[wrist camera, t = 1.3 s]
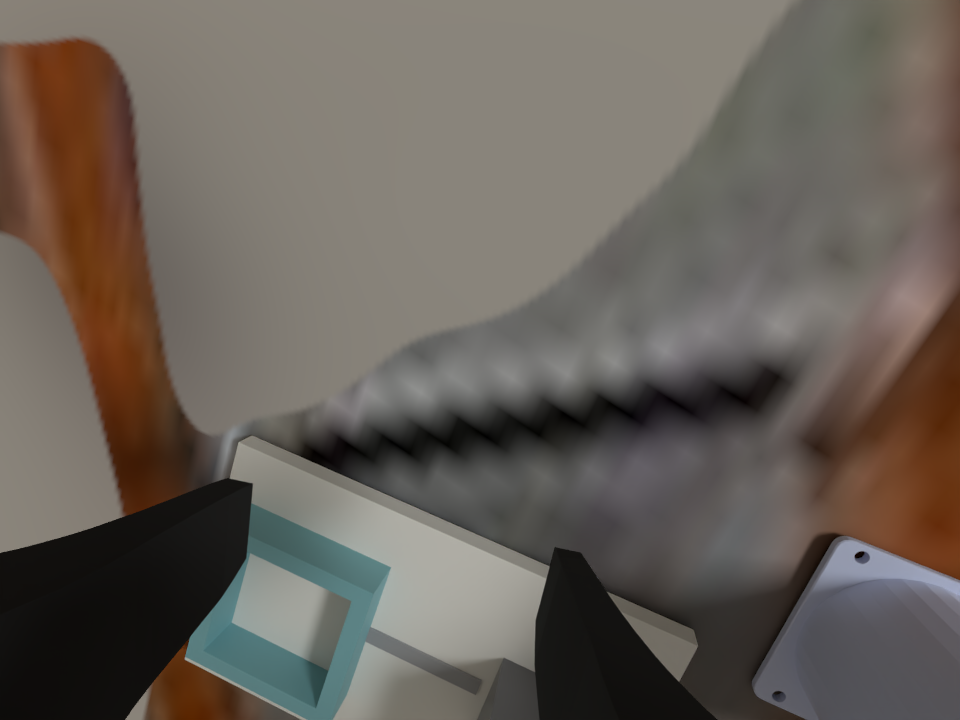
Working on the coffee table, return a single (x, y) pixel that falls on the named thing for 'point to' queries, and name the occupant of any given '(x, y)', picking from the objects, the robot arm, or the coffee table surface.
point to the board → (376, 603)
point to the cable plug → (511, 694)
